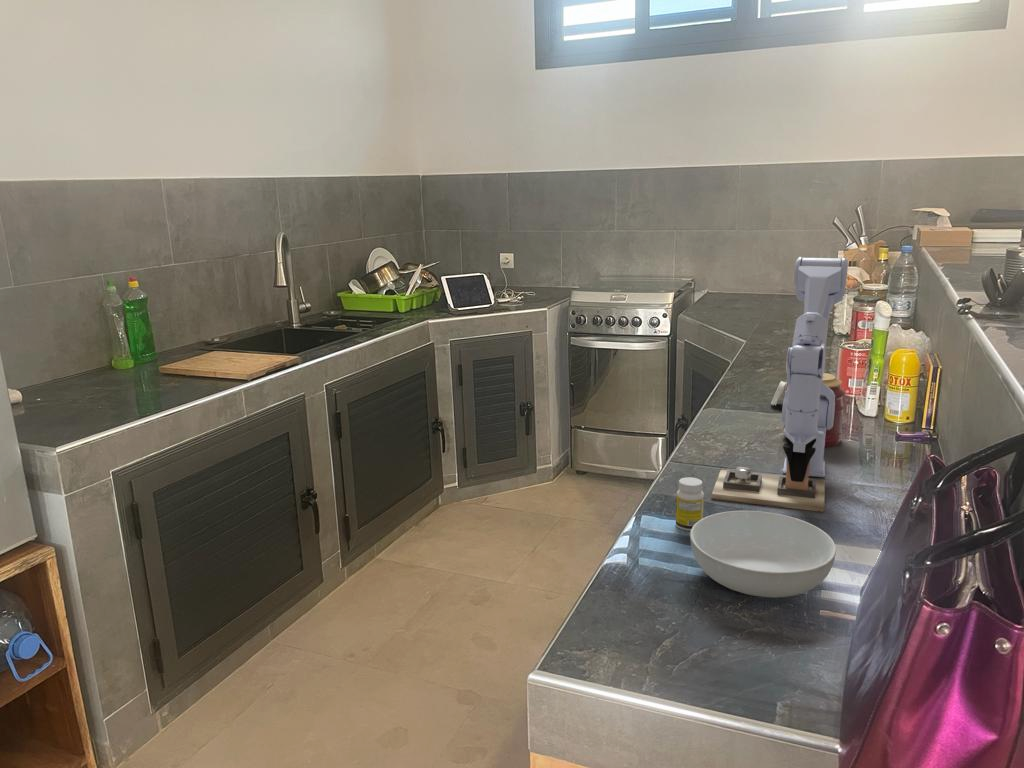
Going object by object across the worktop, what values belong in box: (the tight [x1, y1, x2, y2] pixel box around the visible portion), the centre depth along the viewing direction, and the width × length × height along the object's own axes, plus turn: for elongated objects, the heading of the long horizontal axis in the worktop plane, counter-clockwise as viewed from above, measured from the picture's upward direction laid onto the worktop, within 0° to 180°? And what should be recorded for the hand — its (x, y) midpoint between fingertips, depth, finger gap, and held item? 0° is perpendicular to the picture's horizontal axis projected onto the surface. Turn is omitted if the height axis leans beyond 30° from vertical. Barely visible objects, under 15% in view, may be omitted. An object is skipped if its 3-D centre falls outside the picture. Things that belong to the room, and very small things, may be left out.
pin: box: [734, 466, 752, 484], centre depth 154 cm, size 3×3×3 cm
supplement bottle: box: [675, 476, 705, 532], centre depth 137 cm, size 5×5×8 cm
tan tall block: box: [785, 458, 810, 490], centre depth 149 cm, size 4×4×7 cm
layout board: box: [711, 469, 826, 513], centre depth 152 cm, size 14×20×2 cm
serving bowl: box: [689, 510, 837, 598], centre depth 118 cm, size 21×21×7 cm
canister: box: [781, 372, 846, 448], centre depth 181 cm, size 13×13×18 cm
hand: (797, 476), depth 150 cm, fingers closed on tan tall block, 4 cm apart
